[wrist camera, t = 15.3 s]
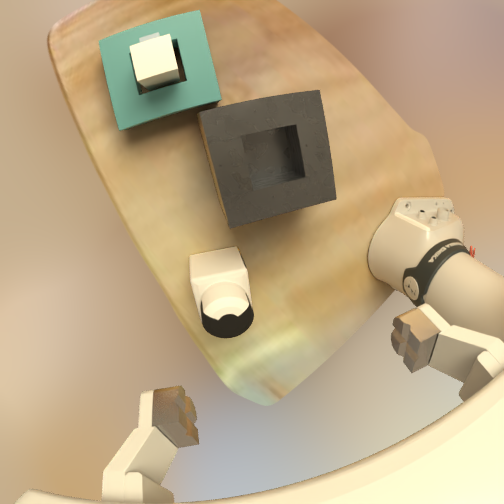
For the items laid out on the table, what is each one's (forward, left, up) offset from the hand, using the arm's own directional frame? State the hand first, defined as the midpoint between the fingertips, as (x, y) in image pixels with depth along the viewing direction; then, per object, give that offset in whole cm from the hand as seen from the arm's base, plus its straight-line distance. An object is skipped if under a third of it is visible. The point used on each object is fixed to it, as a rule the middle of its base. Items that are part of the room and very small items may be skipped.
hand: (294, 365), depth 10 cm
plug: (+3, -16, -31) cm, 35 cm away
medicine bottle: (+3, +13, -31) cm, 34 cm away
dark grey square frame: (-6, -3, -31) cm, 32 cm away
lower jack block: (+3, -16, -31) cm, 35 cm away
